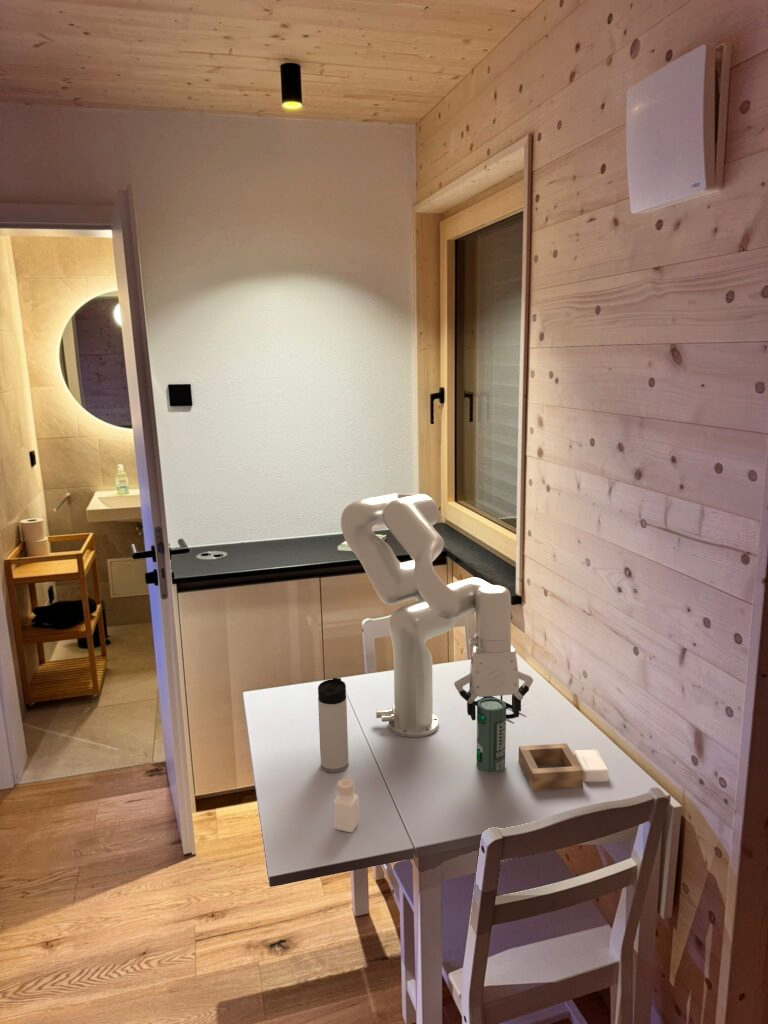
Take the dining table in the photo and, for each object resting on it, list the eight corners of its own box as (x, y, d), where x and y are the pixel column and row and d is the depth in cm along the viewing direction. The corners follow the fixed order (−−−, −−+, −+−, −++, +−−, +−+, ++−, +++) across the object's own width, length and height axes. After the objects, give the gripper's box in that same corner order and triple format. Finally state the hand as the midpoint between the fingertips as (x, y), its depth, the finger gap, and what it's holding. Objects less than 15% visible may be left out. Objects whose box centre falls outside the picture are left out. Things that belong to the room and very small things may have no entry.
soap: (609, 783, 157) (609, 770, 156) (583, 783, 157) (584, 771, 156) (596, 760, 166) (597, 748, 165) (572, 760, 166) (573, 748, 165)
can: (485, 755, 168) (485, 695, 165) (509, 763, 165) (510, 702, 161) (472, 767, 163) (472, 706, 160) (496, 776, 160) (497, 713, 157)
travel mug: (353, 760, 167) (350, 679, 163) (342, 775, 161) (339, 692, 157) (328, 755, 169) (325, 675, 165) (316, 770, 163) (312, 688, 159)
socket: (532, 790, 154) (532, 773, 153) (518, 762, 165) (518, 746, 164) (582, 787, 155) (583, 770, 154) (565, 759, 166) (566, 743, 165)
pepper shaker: (333, 830, 143) (332, 786, 141) (342, 818, 146) (340, 775, 144) (352, 834, 141) (351, 790, 139) (360, 822, 145) (359, 779, 143)
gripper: (457, 651, 153) (458, 727, 156) (537, 646, 154) (537, 721, 158) (450, 639, 161) (452, 711, 164) (527, 633, 162) (527, 705, 165)
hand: (494, 715), depth 161 cm, fingers open, 9 cm apart
